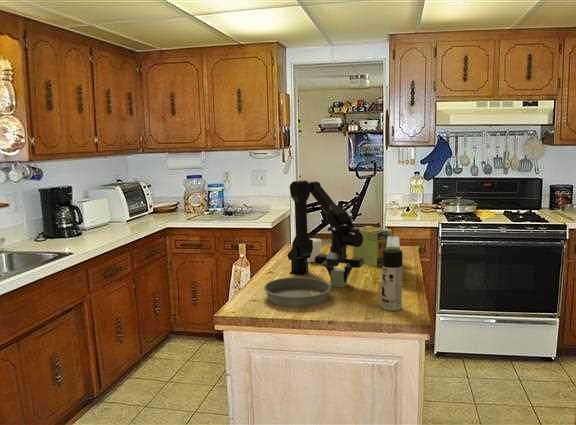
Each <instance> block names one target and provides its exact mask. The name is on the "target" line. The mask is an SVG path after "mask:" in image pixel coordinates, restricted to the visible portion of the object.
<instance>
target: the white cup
mask: <svg viewBox="0 0 576 425" xmlns="http://www.w3.org/2000/svg"><path fill="white" fill-rule="evenodd" d="M310 240H312V241H313V249H312V253H311V256H310V258H307V262H308V263H311V262H314V263H315V260H314V259H315V257H316V256H317V255H319V254H322V253H321V251H322V250H321V248H322V239H320V238H312V237H311V238H310Z"/></svg>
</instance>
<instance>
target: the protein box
mask: <svg viewBox="0 0 576 425" xmlns="http://www.w3.org/2000/svg"><path fill="white" fill-rule="evenodd" d="M354 229H359V232H360V233H361V234H362V236H363V243H362V245H361V246H360V247H353V246H352V258H353V257H359V258H363V260H364V265H368V266H373V267H382V259H383V250H385V249H386V247H387V237H393V230H392V229H388V228H383V227H377V226H371V225H366V226H361V227H354Z"/></svg>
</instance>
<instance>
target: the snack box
mask: <svg viewBox="0 0 576 425" xmlns="http://www.w3.org/2000/svg"><path fill="white" fill-rule="evenodd" d="M400 244H401V243H400V237H399V236H392V237H387V247H386V249H398V250H401V245H400Z"/></svg>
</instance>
